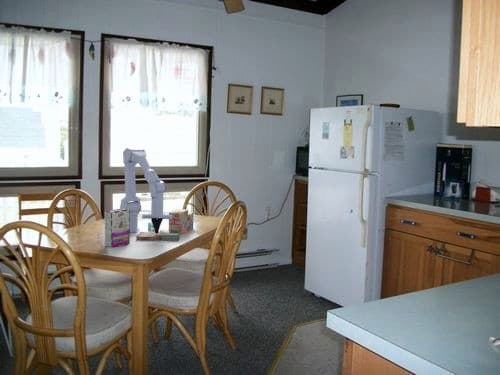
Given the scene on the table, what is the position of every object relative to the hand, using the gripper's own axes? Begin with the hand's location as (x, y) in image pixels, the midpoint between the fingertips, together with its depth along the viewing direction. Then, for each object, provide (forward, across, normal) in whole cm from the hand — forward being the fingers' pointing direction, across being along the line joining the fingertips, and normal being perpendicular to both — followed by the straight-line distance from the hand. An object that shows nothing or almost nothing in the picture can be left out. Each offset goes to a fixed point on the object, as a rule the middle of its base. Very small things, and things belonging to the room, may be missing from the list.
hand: (156, 233), depth 236 cm
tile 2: (+2, +8, 0) cm, 8 cm away
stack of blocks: (+3, +11, +17) cm, 21 cm away
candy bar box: (+3, -16, -16) cm, 23 cm away
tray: (+3, +7, 0) cm, 7 cm away
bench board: (+3, -3, 0) cm, 4 cm away
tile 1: (+1, +4, 0) cm, 4 cm away
